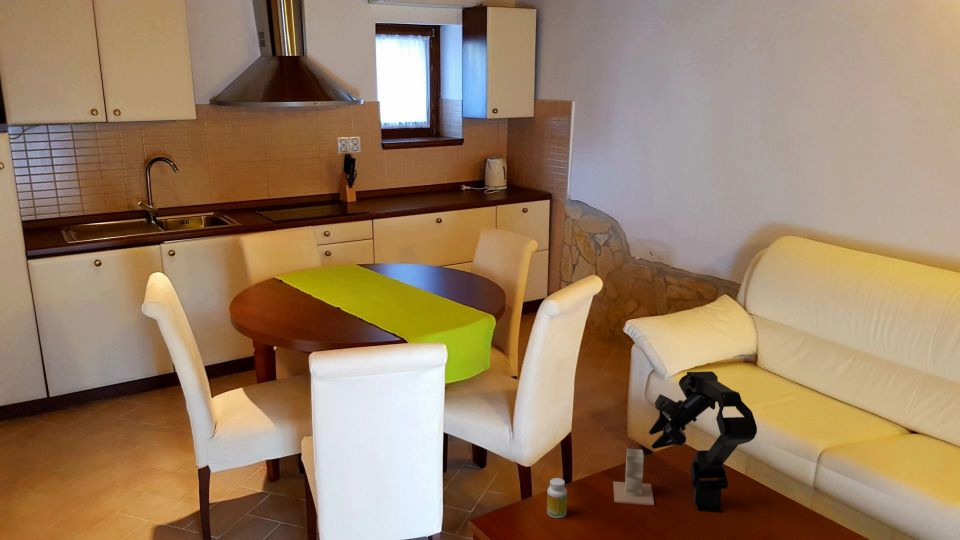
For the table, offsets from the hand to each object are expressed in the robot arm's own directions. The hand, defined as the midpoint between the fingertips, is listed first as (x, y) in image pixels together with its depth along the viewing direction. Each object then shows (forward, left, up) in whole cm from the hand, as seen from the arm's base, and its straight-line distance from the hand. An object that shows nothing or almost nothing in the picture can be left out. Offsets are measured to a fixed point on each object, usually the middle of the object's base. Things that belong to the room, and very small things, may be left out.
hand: (651, 440), depth 213 cm
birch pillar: (+5, +7, -13) cm, 16 cm away
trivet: (+5, +7, -14) cm, 16 cm away
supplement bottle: (+27, +21, -14) cm, 37 cm away
